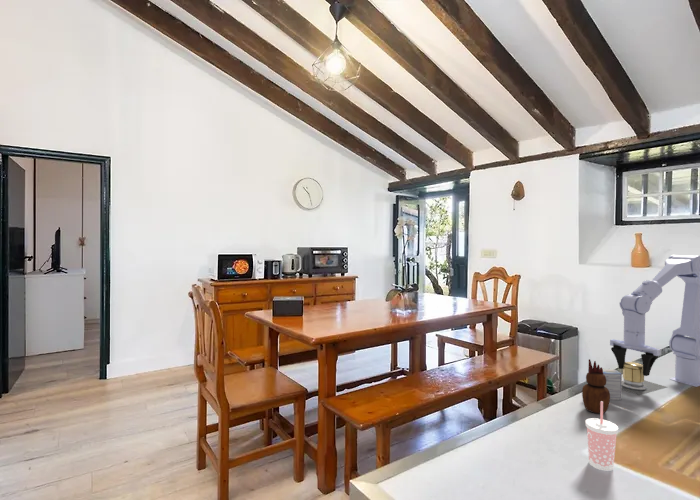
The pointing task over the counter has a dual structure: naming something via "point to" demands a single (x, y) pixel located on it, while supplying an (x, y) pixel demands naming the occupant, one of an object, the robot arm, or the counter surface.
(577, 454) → the counter surface
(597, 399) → the wooden figurine
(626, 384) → the stud post
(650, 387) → the mat
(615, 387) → the medicine box
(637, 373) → the cap
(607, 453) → the beverage cup
